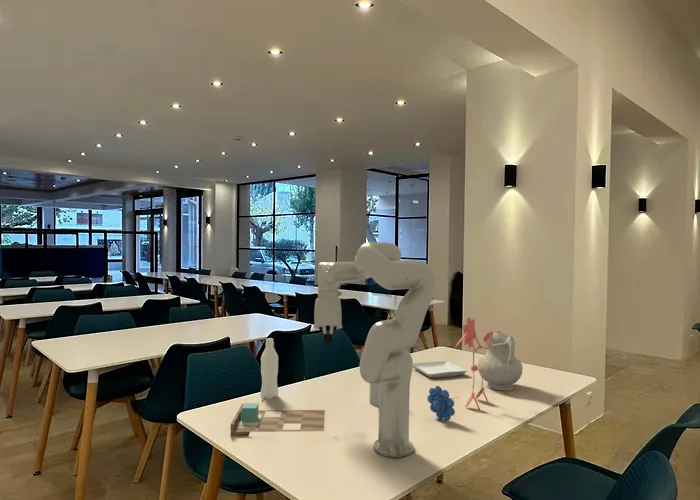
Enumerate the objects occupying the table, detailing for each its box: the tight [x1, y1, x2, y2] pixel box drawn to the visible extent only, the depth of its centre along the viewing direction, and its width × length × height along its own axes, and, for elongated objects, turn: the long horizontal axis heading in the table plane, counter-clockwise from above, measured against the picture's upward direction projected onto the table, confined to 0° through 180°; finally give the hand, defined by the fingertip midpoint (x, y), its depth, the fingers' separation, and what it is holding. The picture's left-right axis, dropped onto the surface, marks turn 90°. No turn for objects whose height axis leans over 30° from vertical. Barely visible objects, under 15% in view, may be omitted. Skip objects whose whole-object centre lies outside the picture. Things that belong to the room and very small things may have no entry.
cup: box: [369, 383, 381, 407], centre depth 190 cm, size 8×8×12 cm
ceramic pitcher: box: [477, 330, 523, 392], centre depth 211 cm, size 22×20×25 cm
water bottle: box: [260, 337, 279, 401], centre depth 193 cm, size 7×7×25 cm
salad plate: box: [413, 360, 468, 379], centre depth 236 cm, size 21×21×3 cm
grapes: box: [426, 385, 456, 422], centre depth 172 cm, size 12×7×12 cm, turn 46°
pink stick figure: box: [452, 316, 495, 410], centre depth 191 cm, size 15×26×35 cm, turn 142°
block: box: [242, 402, 259, 422], centre depth 167 cm, size 5×5×5 cm
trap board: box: [230, 403, 326, 437], centre depth 167 cm, size 20×31×4 cm, turn 92°
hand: (327, 344), depth 176 cm, fingers closed
